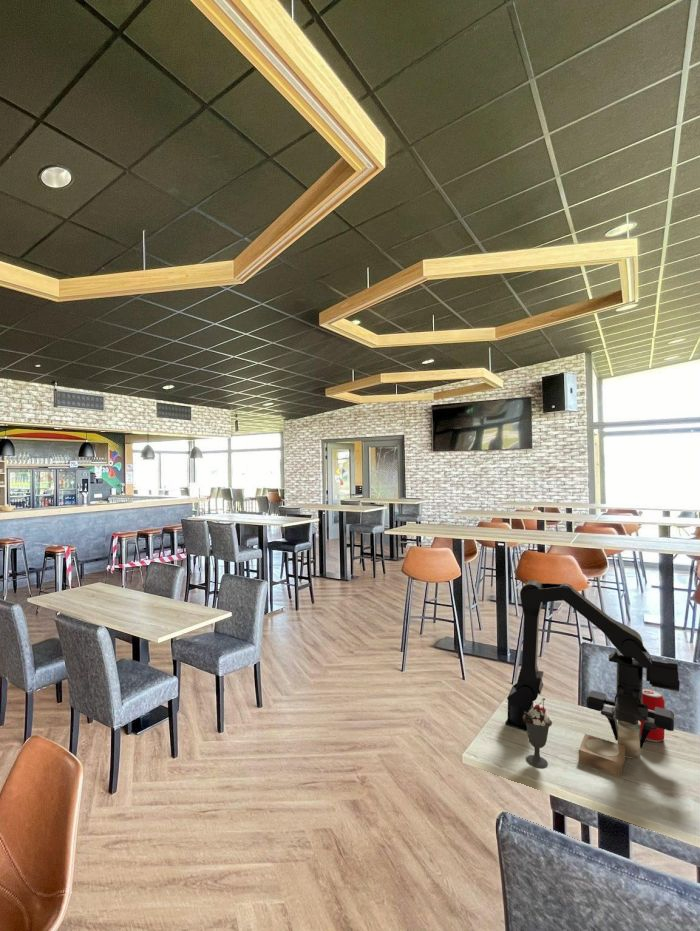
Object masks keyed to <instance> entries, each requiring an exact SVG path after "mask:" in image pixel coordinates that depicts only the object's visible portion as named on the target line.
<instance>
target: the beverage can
mask: <svg viewBox="0 0 700 931" xmlns="http://www.w3.org/2000/svg"><path fill="white" fill-rule="evenodd" d="M643 704H644V705H647V706H648V710H652V711H655V707H659V708H663V709H666V707H665V698H664V697H663V693H662V692H661V691H659V690H656V689H653V688H649V687H643ZM639 721H640V720H639ZM640 723H641V735H642V729H643V723H644V720H643V721H640ZM664 739H665V729H662V728H658V729H657V730H655V729H652V730H651V731H650V732H649V734H648V735H647V738H646V740H645V741H649V742H653V743H659V742H662V741H664Z"/></svg>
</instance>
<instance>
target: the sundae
mask: <svg viewBox="0 0 700 931" xmlns="http://www.w3.org/2000/svg"><path fill="white" fill-rule="evenodd" d="M545 700H546V698H545V697H544V698H543V697H542V699H541V702H540V703H539V704H535V705H534V706H533V707H532V708H531V709H530V710H529V712H528V713H527V712H524V715H523V720H524V722H525V723H526V725H527V731H526V732H527V739H528V742H529V743H530V745H531V746H532V747H533V748H534V753H533V754H531V755H530V754H529V755H528V756H526V758H525V761H526V762H527V764H529V765H530V766H532V767H535V768H538V769H544V768H547V767H548V766H549V765H548V764H549V763H548V760H547V759H546V758H544V757H541V755H540V749H542V748H543V747H545V746H546V745H547V740H548V735H549V734H548V733H549V729H550V727H551V726H552V724H553V722H552V720H551V719H550V717H549V715H548V714H547V713H546V712H547V709H546V708H545V706H544V703H545V702H544V701H545ZM541 704H542V707H541V706H540V705H541Z"/></svg>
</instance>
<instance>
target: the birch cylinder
mask: <svg viewBox="0 0 700 931" xmlns="http://www.w3.org/2000/svg"><path fill="white" fill-rule="evenodd" d="M617 725H618V740H617V742H616V743H617V744H620V745H624V746H625V758H630V759H639V758H641V748H640V741H641V723H640V721H639V720H638V724H637V725H633V724H631V723H628V722H625V721H619V720H617Z"/></svg>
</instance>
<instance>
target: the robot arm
mask: <svg viewBox="0 0 700 931" xmlns="http://www.w3.org/2000/svg"><path fill="white" fill-rule="evenodd" d="M519 598H520V604H521V610H522V612H523V631H522V634H523V635H522V652H521V667H520V670H519V673H518V676H517V677H518V678H517V681H516V683H515V684H513V685H512V686H511V689H510V691H509V693H508V695H507V697H506V699H507V719H506V720H505V725H507V726H511V727H513V728H516V729H520V730H521V731H522V730H523V731H525V732H527V725H526V723H525V722H524V720H523V715H524V712H527V713H528V712H529V710H530V709H531V708H532V707H534V702H535V701H537V699H538V696H539V695H541V694H542V691H543V687H544V682H543V677H544V673H545V672H544V671H541V670H539V666H538V651H539V650H538V649H539V648H538V647H539V628H540V627H539V626H540V614H541V612H542V611H541V610H542V606H543V603H550V602H558V601H561V602H562V601H564V602H565V603H566V604H568V605H569V606H570V607H571V608H572V609H574V610H575V611H576V612H577V613H579V614H580V615H582V616H583V617H584V618H585V619H586V620H588V621H589V622H590V623H591V624H593V626H595V627H596V628H597V629H599V630H600V631H601V632H602V633H603V634H604V635H605V636H606V638H607V639H608V640H609V641H610V643H611V644H612V645H613V646H614V647H615V649H616V650H614V652H612V653H610V654H608V661H609V662H611V663H616V685H615V686H616V687H615V690H616V693H615V695H614V700H613V699H608V698H607V696H608V695H607V693H604V692H600V691H596V690H591V691H589V693H588V694H587V697H586V708H588V709H590V710H594V711H598V712H600V714H601V716H605V717H606V719H607V721H608V723H609V725H610V727H611V730H612V733H613V736H614V739H615V741H618V720H619V721H625V722H628V723H631V724H633V725H637V724H638V720H640V721H643V720H644V723H643V729H642V735H641V741H640V749H643V747H644V744H645V742H646V741H647V740H646V738H647V735H648V734H649V732H650V731H651V730H652V729H655V730H657V729H658V728H662V729H664V731H665V730H666V731H668V732H669V731H670V732H674V730H675V729H674V728H675V713H674V712H673V711H672V710H670V709H666V708H665V709H663V708H659V707H655V711H652V710H648V706H647V705H644V704H643V688H644V683H643V682H644V680H643V678H644V674H643V671H644V669H645V681H646V682H649V683H648V684H649V685H650V686H651V688H652V687H653V688H657V689H663V690H667V691H673V692H680V688H681V687H680V684H681V683H680V677H679V669H678V666H679V664H678V662H677V661H676V660H664V659H660V658H654V657H651V653H650V652H649V651H648V650H647V649H646V647H645V645H644V643H643V638H642V636H641V634H640V633H639V632H638V631H636V630H635V629H633V628H631V627H630V626H628V625H627V624H624V623H622V622H620V621H617V620H616V619H614V618H612V617H610V616H609V615H608V614H607V613H605V612H604V611H603V610H602V609H600V608H599V607H598V606H597V605H595V604H594V603H593V602H591V601H590V600H589V599H588V598H586V597H585V596H584V595H582V593H580V592H579V591H577V590H576V589H575V588H574V587H573V586H572V585H571V584H570V583H566V582H565V583H552V582H549V583H548V582H545V583H544V582H543V583H542V582H540V581H538V580H529V581H527V582H526V583H525V584H524V585H523V586H522V588H521V589H520V592H519ZM618 651H619V652H618ZM620 653H621V654H620Z"/></svg>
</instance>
